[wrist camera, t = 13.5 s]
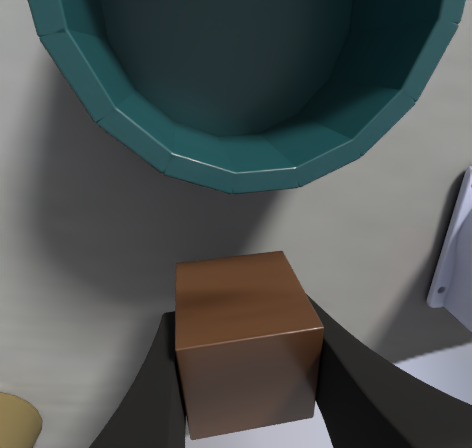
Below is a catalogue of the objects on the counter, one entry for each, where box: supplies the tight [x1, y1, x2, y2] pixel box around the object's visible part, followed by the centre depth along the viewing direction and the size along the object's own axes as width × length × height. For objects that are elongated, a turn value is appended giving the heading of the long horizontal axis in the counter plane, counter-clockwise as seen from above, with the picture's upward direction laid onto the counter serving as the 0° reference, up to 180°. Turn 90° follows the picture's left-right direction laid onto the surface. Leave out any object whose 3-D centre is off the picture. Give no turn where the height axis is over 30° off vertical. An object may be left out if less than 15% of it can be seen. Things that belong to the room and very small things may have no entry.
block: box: [175, 251, 324, 440], centre depth 12 cm, size 4×4×4 cm
